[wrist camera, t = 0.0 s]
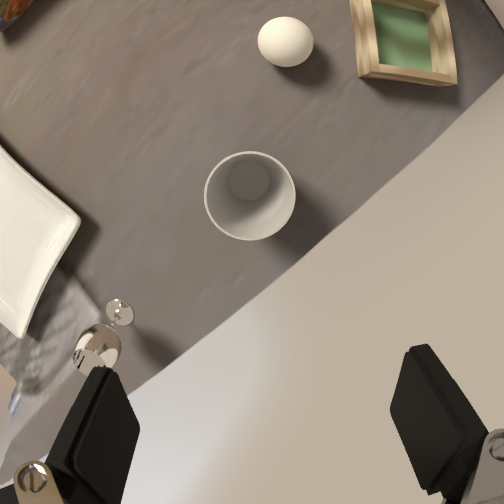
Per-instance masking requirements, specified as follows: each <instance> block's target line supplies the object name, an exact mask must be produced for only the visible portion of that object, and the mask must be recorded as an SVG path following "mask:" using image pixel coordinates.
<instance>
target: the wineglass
mask: <svg viewBox="0 0 504 504" xmlns="http://www.w3.org/2000/svg"><path fill="white" fill-rule="evenodd" d="M106 313H107V316H108V317H109V319H110V320H111V321H112V323H111V324H110V325H109V326H106V325H104V324H92V325H90V326H88V327H87V328H85V329H84V330H83V331H82V333H81V334H80V336H79V338H78V339H77V342H76V345H75V348H74V352H73V362H74V364H75V366H76V367H77V369H78V370H79V371H80V372H82V373H83V374H84V375H86V376H89V374H90V372H91V370H92V368H93V367H95V366H96V367H110V368H111V369H112V368H113V367H114V365H115V364H116V363H117V361H118V359H119V357H120V354H121V348H122V346H121V341H120V338H119V336H118V335H117V333H116V332H115V331H114V330H113V327H114V325H115V324H117V325H121V326H125V325H128V324H130V323H131V322H132V321H133V318H134V313H133V310H132V308H131V307H130V306H129V305H128V304H127V303H126V302H124V301H122V300H118V299H115V300H111V301H110V302H109V303H108V304H107V306H106Z"/></svg>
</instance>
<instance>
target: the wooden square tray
mask: <svg viewBox="0 0 504 504" xmlns="http://www.w3.org/2000/svg"><path fill="white" fill-rule="evenodd" d="M349 2H350V9H351V16H352V23H353V31H354V39H355V48H356V57H357V68H358V77H364V78H376V79H386V80H395V81H403V82H411V83H418V84H424V85H431V86H437V87H442V86H449V85H457V84H458V82H457V72H456V62H455V54H454V47H453V40H452V34H451V28H450V23H449V17H448V12H447V7H446V3H445V0H349Z"/></svg>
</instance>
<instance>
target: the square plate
mask: <svg viewBox="0 0 504 504" xmlns="http://www.w3.org/2000/svg"><path fill="white" fill-rule="evenodd" d="M80 225H81V218H80V217H79V216H78V215H77V214H76V213H75V212H74V211H73V210H72V209H71V208H70V207H69V206H68V205H66V204H65V203H64V202H63V201H62V200H60V199H59V198H58V197H57V196H55V195H54V194H53V193H52V192H50V191H49V190H48V189H47V188H46V187H44V186H43V185H42V184H41V183H40V182H38V181H37V180H36V179H35V178H34V177H33V176H32V175H30V174H29V173H28V172H27V171H26V170H25V169H24V168H23V167H22V166H21V165H19V164H18V163H17V162H16V161H15V160H14V159H13V158H12V157H11V156H10V155H9V154H8V153H7V152H6V151H5V149H4V148H3V147H2V146H1V145H0V322H1V323H2V324H3V325H4V326H5V327H6V328H7V329H8V330H10V331H11V332H12V333H13V334H14V335H15V336H17V337H18V338H19V339H22V338H23V337H24V336H25V333H26V331H27V329H28V326H29V323H30V320H31V318H32V315H33V313H34V310H35V308H36V305H37V303H38V301H39V298H40V296H41V294H42V292H43V290H44V288H45V286H46V284H47V282H48V280H49V278H50V276H51V274H52V273H53V271H54V269H55V267H56V266H57V264H58V262H59V261H60V259H61V257H62V256H63V254H64V252H65V251H66V249H67V247H68V246H69V244H70V242H71V241H72V239H73V238H74V236H75V234H76V232H77V231H78V229H79V227H80Z"/></svg>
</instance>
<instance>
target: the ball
mask: <svg viewBox="0 0 504 504" xmlns="http://www.w3.org/2000/svg"><path fill="white" fill-rule="evenodd" d="M258 47H259V50H260V52H261V54H262V55H263V56H264V58H265V59H267V60H268V61H269V62H271V63H272V64H275V65H277V66H282V67H292V66H296V65H298V64H301V63H302V62H304V61H305V60H306V59H307V58H308V57H309V55H310V54H311V52H312V49H313V36H312V34H311V31H310V30H309V28H308V27H307V26H306V25H305V24H304V23H302V22H301V21H299V20H297V19H295V18H291V17H278V18H275V19H272V20H270V21H269V22H267V23H266V24H265V25H264V26H263V27H262V29H261V30H260V32H259V35H258Z"/></svg>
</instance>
